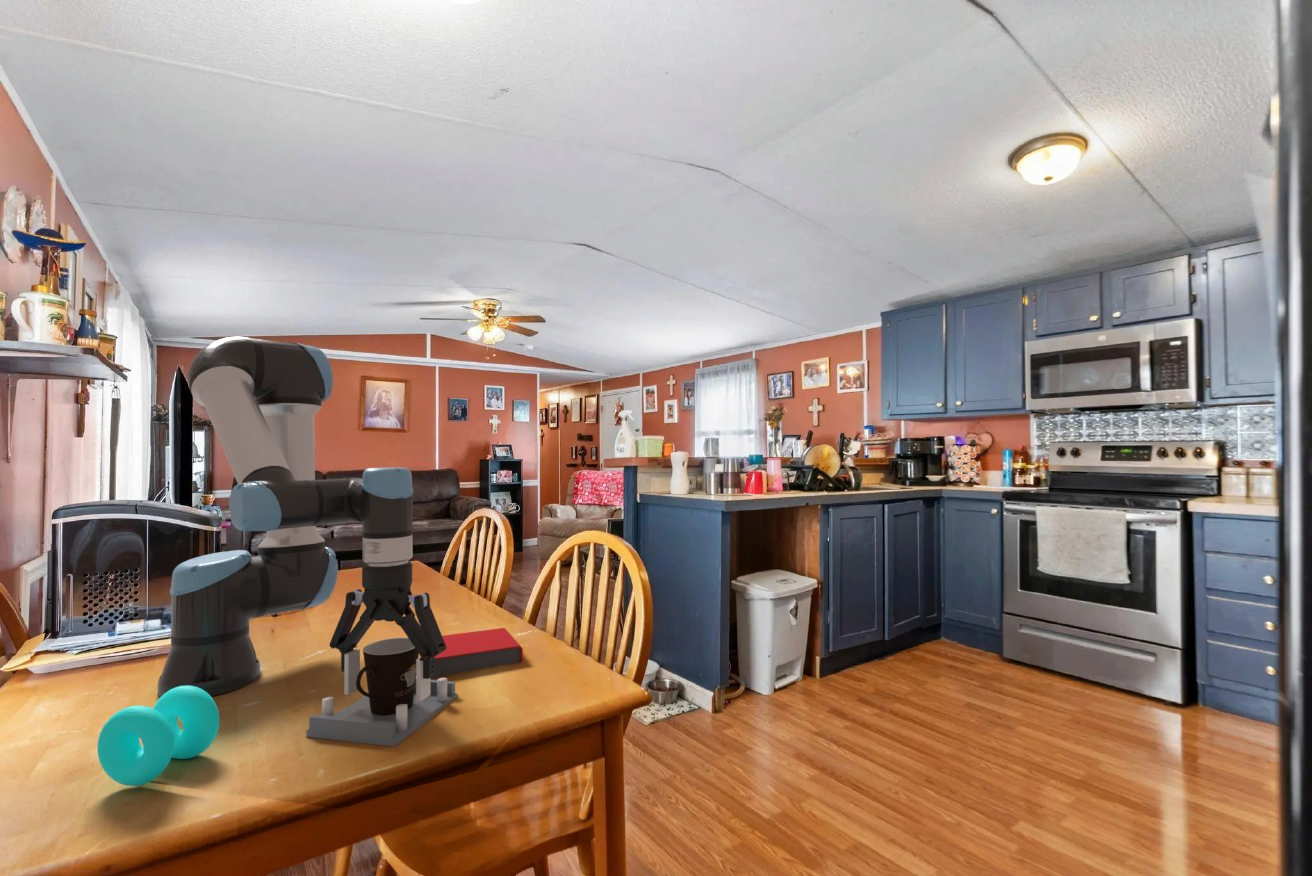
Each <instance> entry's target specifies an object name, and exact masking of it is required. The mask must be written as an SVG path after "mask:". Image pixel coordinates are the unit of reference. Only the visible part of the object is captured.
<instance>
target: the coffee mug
mask: <svg viewBox="0 0 1312 876" xmlns="http://www.w3.org/2000/svg"><path fill="white" fill-rule="evenodd" d="M362 653H363V654H362V655H363V662H364V666H363V667H362V668H360V672H359V674H358V676H357V680H356V687H357V689H358V690H357V691H358V692H359V693H360V694H361V695H363V697H365V696H367V697H369V701H370V709H371V713H373V714H375V715H381V716H386V715H394V714H396V706H397V705H399V704H407V710H408V709H409V708H411V707H412V705H413V699H414V690H415V682H416V660H417V659H419V657H420V654H419V653H418V651H417V650H416V649H415V647H414V646H413V644H412V643H411V641H410V640H409V638H408V637H392V638H386V639H381V640H377V641H373V642H371V643H369V644H367V645H365V646H364V647H363V649H362ZM364 673H365V676H366V678H365V679H366V684H367V691H365V690H364V688H362V685H361V681H362V677H363V675H364Z"/></svg>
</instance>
